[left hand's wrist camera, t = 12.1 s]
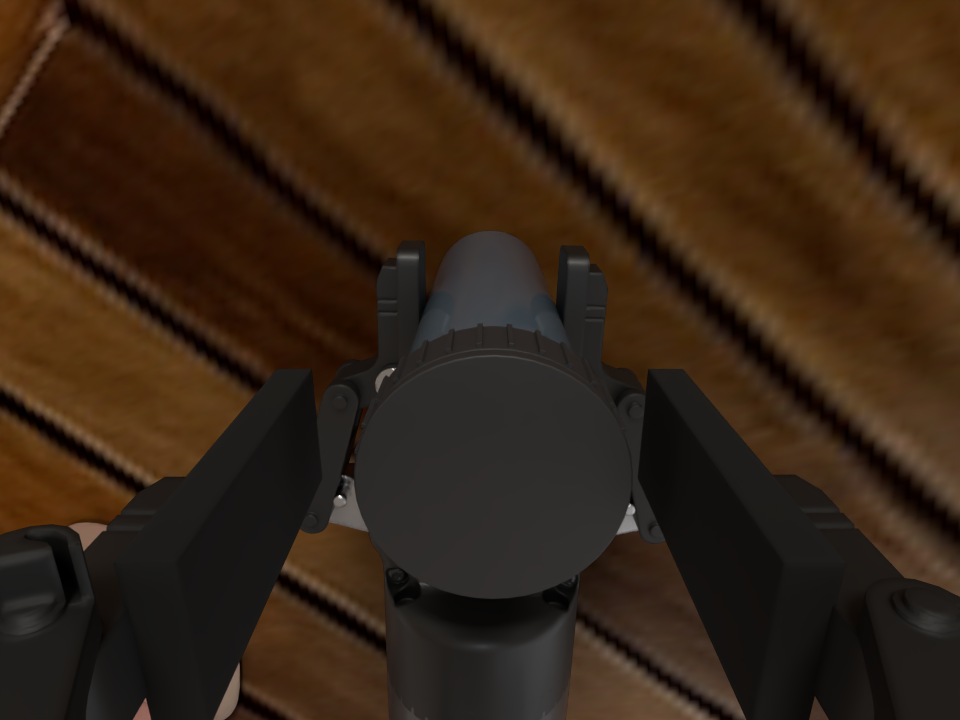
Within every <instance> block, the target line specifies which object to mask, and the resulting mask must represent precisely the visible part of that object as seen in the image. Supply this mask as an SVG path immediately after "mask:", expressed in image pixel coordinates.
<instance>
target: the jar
mask: <svg viewBox="0 0 960 720" xmlns="http://www.w3.org/2000/svg"><path fill="white" fill-rule="evenodd" d="M480 323H483V327H484V326H501V327H506V326H507V324H512V327H513V328H517V329H522V330H528V331H531V332H535V330H538V331H541V335H543V336H545V337H547V338H549V339H551V340H553V341H555V342H557V343H559V344H560V343H561V342H564V343H566V345H567V347H568V350H570V351H571V352H573V349H572V347H571V344H570V342H569V339H568V337H567V334H566V331H565V329H564V326H563V324H562V321H561V319H560V316H559V313H558V311H557V308H556V306H555V303H554V301H553V298H552V296H551V293H550V290H549V288H548V285H547V283H546V280H545V278H544V275H543V273H542V270H541V267H540V265H539V263H538V260H537V258H536V257H535V255H534V254H533V252H532V251H531V250H530V248H529V247H528V246H527V245H526V244H524V243H523V242H522V241H520V240H519V239H518V238H516V237H514V236H512V235H509V234H506V233H503V232H498V231H481V232H476V233H473V234H470V235H468V236H466V237H464V238H462V239H461V240H459V241H458V242H456V243H455V244H454V245H453V246H452V247H451V248H450V249H449V250H448V251H447V253H446V254H445V256H444V257H443V259H442V261H441V264H440V266H439V269H438V272H437V275H436V278H435V281H434V283H433V286H432V289H431V292H430V295H429V298H428V300H427V303H426V306H425V309H424V312H423V315H422V318H421V320H420V323H419V326H418V329H417V332H416V335H415V338H414V340H413V343H412V346H411V349H410V352H409V355H410V354H412V353H413V352H414V351H415V350H417V349H419V348H420V347H421V346H422V343H423V341H425V340H428V341H429V342H430V341H432V340H434V339H436V338H439V337H441V336H443V335H446V334H448V332H449V330H450V329H454V330H455V331H458V330H463V329H468V328H473V327H477V324H480ZM573 353H574V352H573ZM409 355H408V356H409Z"/></svg>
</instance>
